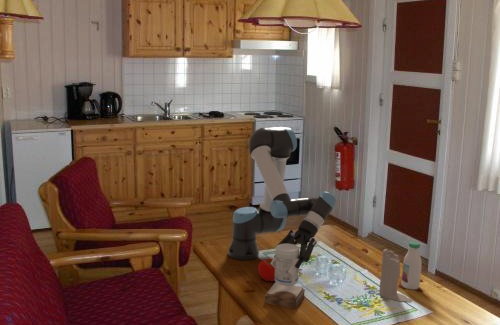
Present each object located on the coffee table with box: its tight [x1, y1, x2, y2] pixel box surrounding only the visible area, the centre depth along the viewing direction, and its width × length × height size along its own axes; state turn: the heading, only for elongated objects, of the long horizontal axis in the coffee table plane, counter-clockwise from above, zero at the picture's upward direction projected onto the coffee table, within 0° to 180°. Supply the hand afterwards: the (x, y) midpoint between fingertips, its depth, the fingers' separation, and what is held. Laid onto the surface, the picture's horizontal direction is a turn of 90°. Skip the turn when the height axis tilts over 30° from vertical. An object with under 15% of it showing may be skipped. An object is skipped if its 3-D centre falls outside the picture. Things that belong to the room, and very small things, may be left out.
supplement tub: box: [274, 243, 300, 286], centre depth 216 cm, size 10×10×15 cm
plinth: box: [264, 281, 306, 310], centre depth 219 cm, size 13×13×4 cm
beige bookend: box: [378, 248, 413, 303], centre depth 224 cm, size 7×14×20 cm, turn 58°
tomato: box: [257, 258, 275, 282], centre depth 238 cm, size 11×11×9 cm
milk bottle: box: [400, 241, 423, 290], centre depth 235 cm, size 8×8×20 cm
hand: (281, 269), depth 215 cm, fingers closed on supplement tub, 9 cm apart
